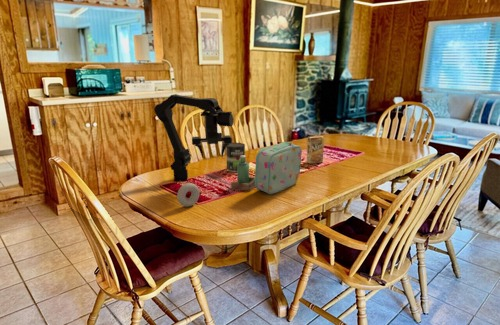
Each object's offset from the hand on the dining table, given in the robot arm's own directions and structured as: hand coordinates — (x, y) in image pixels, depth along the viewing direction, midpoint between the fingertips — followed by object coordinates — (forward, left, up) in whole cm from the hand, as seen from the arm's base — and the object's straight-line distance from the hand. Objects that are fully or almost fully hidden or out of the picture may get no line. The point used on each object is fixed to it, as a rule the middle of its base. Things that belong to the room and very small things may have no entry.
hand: (212, 157), depth 170 cm
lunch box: (+30, -12, -13) cm, 35 cm away
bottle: (+14, -7, -12) cm, 20 cm away
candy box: (+62, +26, -13) cm, 69 cm away
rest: (+14, -7, -13) cm, 20 cm away
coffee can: (+14, +20, -13) cm, 28 cm away
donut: (-12, -27, -13) cm, 32 cm away
